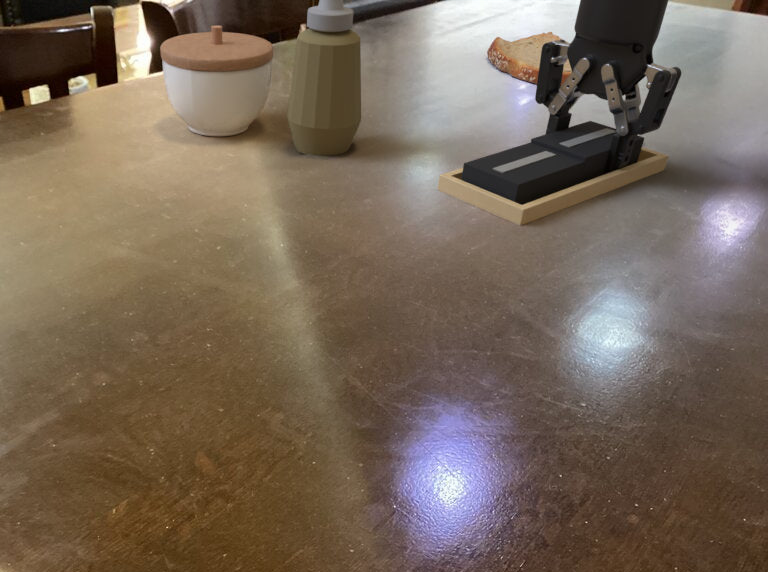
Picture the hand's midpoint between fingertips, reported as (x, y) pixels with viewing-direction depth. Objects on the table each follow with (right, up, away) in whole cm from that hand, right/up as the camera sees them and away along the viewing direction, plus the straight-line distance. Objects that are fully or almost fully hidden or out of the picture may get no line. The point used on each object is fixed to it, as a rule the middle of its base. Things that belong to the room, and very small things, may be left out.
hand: (582, 158), depth 84 cm
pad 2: (0, -1, 0) cm, 1 cm away
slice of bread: (+8, +22, +34) cm, 42 cm away
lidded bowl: (-38, +7, +12) cm, 41 cm away
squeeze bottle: (-26, +2, +6) cm, 27 cm away
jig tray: (-3, -3, -1) cm, 5 cm away
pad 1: (-8, -4, -4) cm, 10 cm away
